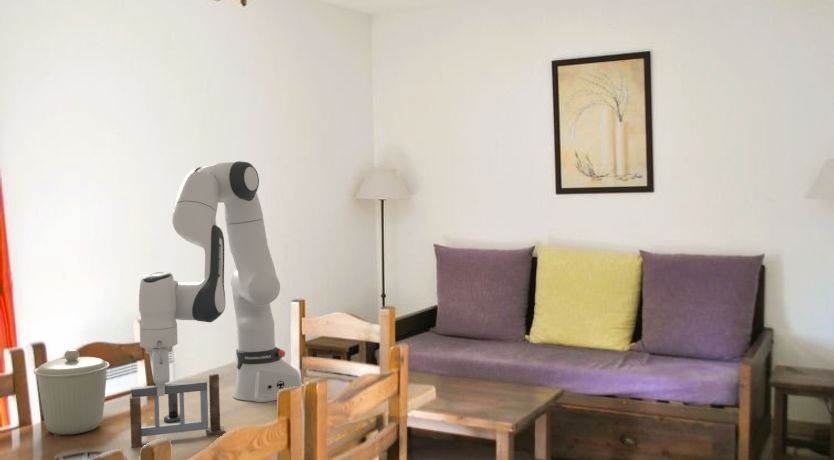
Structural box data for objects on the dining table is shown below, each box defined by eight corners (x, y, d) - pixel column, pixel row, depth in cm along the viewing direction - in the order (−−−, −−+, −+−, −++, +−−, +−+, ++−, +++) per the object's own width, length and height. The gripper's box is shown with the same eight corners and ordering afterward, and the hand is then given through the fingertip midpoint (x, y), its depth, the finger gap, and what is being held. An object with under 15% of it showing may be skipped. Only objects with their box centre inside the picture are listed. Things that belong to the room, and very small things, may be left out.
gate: (207, 427, 202) (206, 380, 201) (208, 429, 200) (207, 382, 199) (132, 435, 195) (131, 387, 195) (132, 438, 194) (131, 389, 193)
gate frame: (223, 429, 204) (221, 372, 204) (226, 436, 199) (224, 377, 198) (131, 440, 197) (129, 380, 196) (131, 447, 191) (129, 386, 190)
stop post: (182, 416, 217) (181, 384, 217) (183, 421, 212) (182, 388, 212) (163, 418, 215) (162, 385, 215) (164, 423, 211) (163, 390, 210)
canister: (34, 444, 195) (31, 359, 194) (37, 424, 211) (34, 346, 210) (113, 434, 202) (110, 352, 201) (110, 416, 218) (107, 340, 217)
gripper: (174, 344, 187) (176, 402, 188) (169, 330, 206) (171, 383, 207) (146, 347, 185) (148, 405, 186) (144, 332, 204) (146, 385, 205)
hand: (160, 393), depth 196 cm, fingers open, 3 cm apart
